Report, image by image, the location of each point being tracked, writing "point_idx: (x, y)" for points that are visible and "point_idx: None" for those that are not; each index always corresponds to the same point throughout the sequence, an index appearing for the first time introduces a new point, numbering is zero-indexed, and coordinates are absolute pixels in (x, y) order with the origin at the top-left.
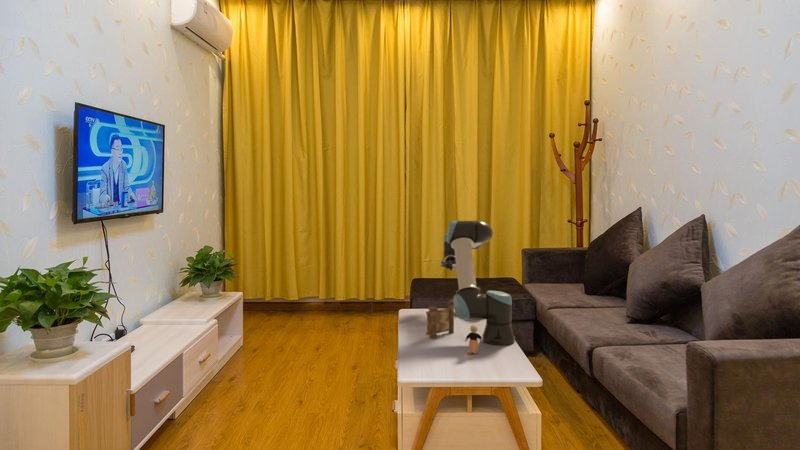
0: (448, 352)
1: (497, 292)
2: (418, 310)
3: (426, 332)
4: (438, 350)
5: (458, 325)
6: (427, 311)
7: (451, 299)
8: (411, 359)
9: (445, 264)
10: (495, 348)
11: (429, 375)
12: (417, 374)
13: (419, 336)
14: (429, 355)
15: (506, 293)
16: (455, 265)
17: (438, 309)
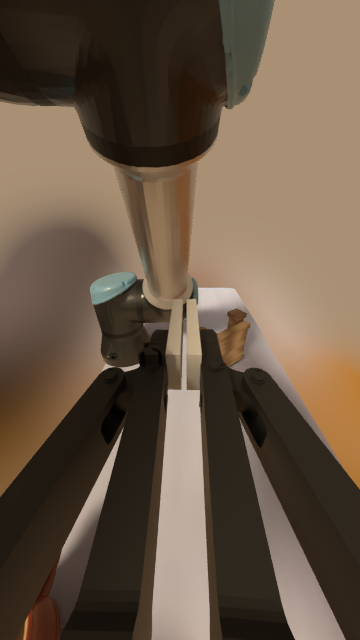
0: (203, 319)
1: (113, 279)
2: None
3: (242, 354)
4: (215, 323)
5: (175, 449)
6: (247, 324)
7: (201, 327)
8: (239, 307)
9: (302, 433)
10: (145, 328)
11: (217, 290)
12: (226, 291)
13: (255, 366)
14: (223, 313)
15: (96, 282)
16: (179, 304)
17: (228, 334)
